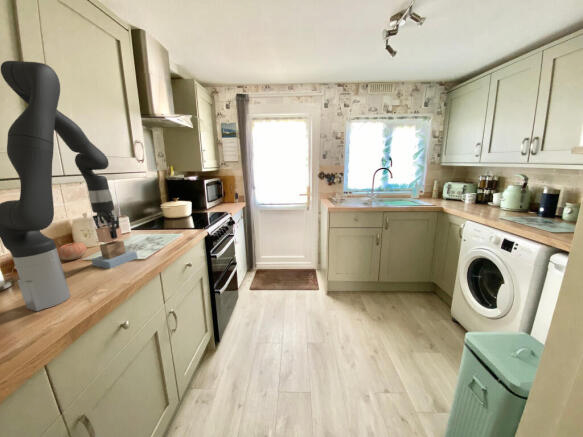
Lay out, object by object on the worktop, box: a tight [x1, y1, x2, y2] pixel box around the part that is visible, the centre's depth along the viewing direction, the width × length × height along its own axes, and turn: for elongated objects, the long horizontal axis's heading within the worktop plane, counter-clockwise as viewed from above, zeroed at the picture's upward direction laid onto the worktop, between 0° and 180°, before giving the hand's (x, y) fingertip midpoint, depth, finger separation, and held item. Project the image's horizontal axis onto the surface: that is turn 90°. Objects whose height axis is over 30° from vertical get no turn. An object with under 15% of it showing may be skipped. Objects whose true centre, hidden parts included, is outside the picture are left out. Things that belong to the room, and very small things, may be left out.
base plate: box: [91, 250, 138, 270], centre depth 105 cm, size 12×12×3 cm
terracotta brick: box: [95, 224, 124, 244], centre depth 103 cm, size 7×5×6 cm
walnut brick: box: [99, 239, 127, 259], centre depth 104 cm, size 7×5×6 cm
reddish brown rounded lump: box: [57, 242, 87, 261], centre depth 111 cm, size 11×11×8 cm
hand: (110, 237), depth 103 cm, fingers closed on terracotta brick, 5 cm apart
